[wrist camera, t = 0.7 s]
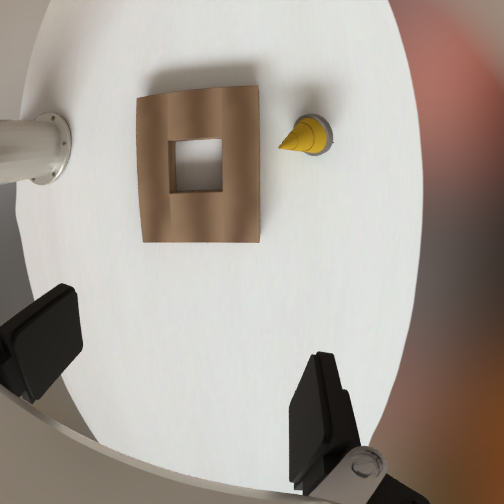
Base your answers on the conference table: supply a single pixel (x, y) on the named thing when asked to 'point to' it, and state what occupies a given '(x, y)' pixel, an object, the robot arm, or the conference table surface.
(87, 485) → the robot arm
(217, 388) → the conference table surface
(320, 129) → the drill bit
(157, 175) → the holder block
